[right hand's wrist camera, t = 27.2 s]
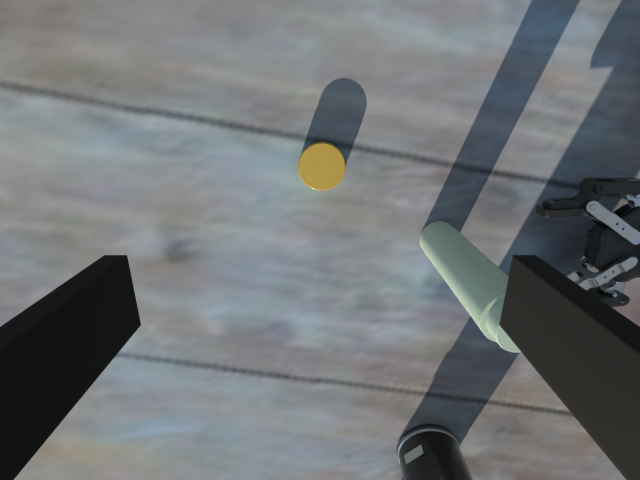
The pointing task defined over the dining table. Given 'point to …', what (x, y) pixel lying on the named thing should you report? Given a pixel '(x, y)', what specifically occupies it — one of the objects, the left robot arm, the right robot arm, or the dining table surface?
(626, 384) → the right robot arm
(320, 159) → the lid
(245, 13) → the dining table surface
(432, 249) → the pale green tube
